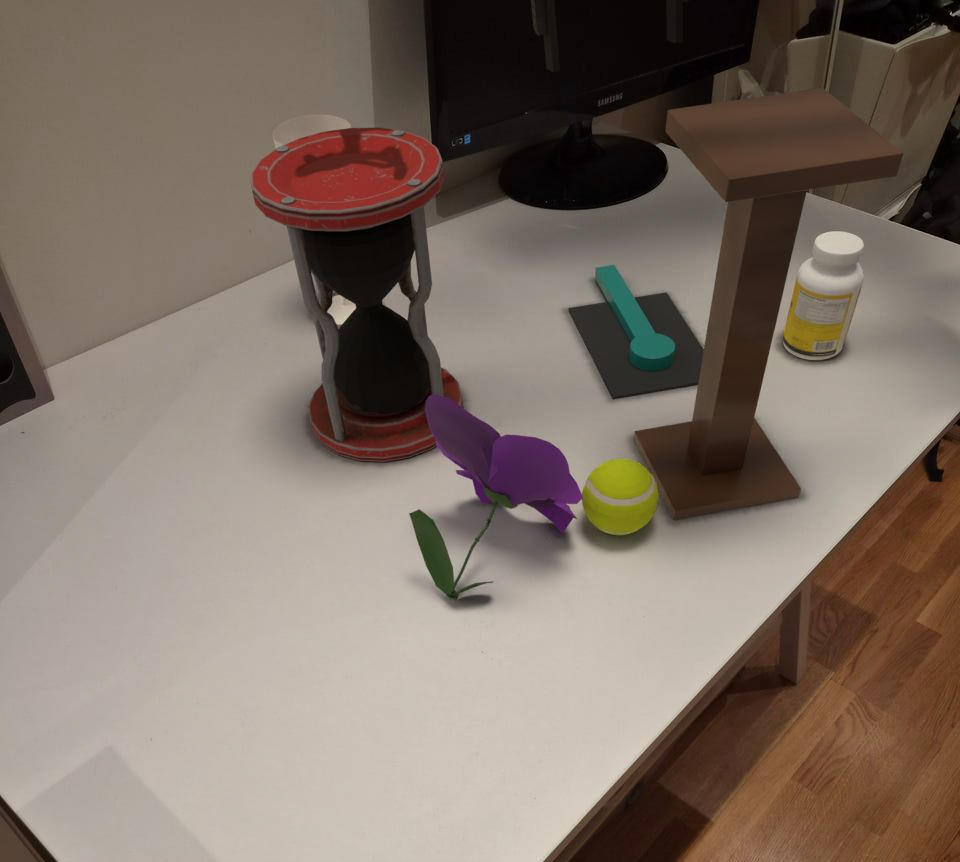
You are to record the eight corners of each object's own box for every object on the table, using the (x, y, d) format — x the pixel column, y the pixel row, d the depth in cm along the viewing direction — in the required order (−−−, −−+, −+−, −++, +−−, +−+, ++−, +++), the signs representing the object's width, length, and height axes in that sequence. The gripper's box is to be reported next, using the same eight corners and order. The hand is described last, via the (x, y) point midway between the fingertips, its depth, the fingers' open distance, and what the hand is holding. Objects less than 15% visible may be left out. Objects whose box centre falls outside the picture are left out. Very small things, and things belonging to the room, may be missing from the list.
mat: (568, 311, 102) (568, 307, 102) (666, 295, 103) (666, 292, 103) (612, 400, 91) (613, 396, 90) (722, 381, 92) (722, 378, 91)
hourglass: (493, 396, 92) (480, 145, 73) (401, 483, 84) (359, 227, 65) (375, 354, 99) (334, 113, 79) (279, 431, 91) (208, 183, 71)
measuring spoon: (585, 279, 105) (585, 267, 104) (623, 273, 106) (624, 261, 105) (636, 374, 93) (638, 361, 91) (679, 367, 93) (681, 354, 92)
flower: (542, 648, 77) (607, 515, 78) (494, 601, 63) (574, 440, 64) (408, 588, 82) (471, 464, 84) (337, 533, 69) (414, 386, 70)
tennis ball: (665, 542, 77) (674, 484, 72) (593, 557, 77) (597, 500, 71) (639, 494, 82) (646, 436, 76) (571, 508, 81) (573, 450, 76)
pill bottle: (819, 324, 97) (847, 220, 88) (855, 353, 94) (888, 248, 84) (769, 338, 96) (792, 235, 87) (803, 369, 92) (831, 264, 83)
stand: (633, 440, 86) (667, 109, 63) (747, 420, 87) (822, 87, 64) (673, 521, 79) (729, 179, 56) (798, 498, 80) (904, 152, 57)
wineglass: (352, 283, 109) (321, 108, 93) (393, 310, 104) (367, 130, 89) (298, 308, 106) (257, 130, 90) (338, 336, 101) (301, 155, 86)
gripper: (716, -245, 82) (710, 24, 96) (460, -189, 81) (494, 75, 95) (750, -254, 76) (739, 33, 91) (477, -194, 75) (510, 87, 90)
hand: (614, 55), depth 93 cm, fingers open, 13 cm apart
